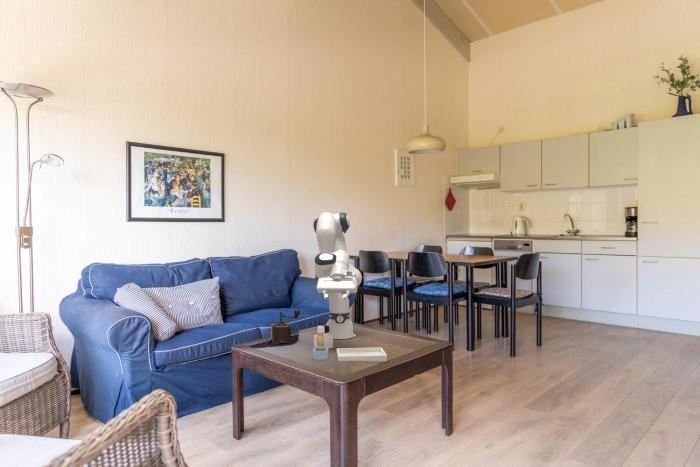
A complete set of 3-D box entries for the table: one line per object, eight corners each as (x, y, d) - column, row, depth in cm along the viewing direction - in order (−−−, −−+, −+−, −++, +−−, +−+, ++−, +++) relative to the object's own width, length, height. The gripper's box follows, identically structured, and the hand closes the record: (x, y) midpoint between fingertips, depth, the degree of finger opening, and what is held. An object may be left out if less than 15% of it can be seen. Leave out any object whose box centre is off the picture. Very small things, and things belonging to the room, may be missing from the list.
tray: (336, 354, 222) (336, 348, 222) (381, 353, 224) (381, 347, 224) (338, 363, 206) (338, 356, 206) (387, 362, 208) (387, 355, 208)
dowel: (316, 357, 213) (316, 331, 213) (323, 357, 213) (323, 331, 213) (317, 359, 210) (317, 332, 210) (324, 358, 210) (324, 332, 210)
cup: (312, 358, 214) (312, 347, 214) (327, 358, 215) (327, 347, 215) (313, 362, 208) (313, 351, 208) (328, 362, 208) (328, 350, 208)
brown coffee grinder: (271, 345, 242) (271, 310, 243) (270, 340, 253) (270, 307, 253) (301, 343, 246) (301, 309, 246) (298, 339, 257) (298, 306, 257)
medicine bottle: (324, 347, 237) (324, 323, 238) (333, 349, 232) (333, 325, 232) (313, 349, 232) (313, 325, 233) (322, 351, 227) (322, 327, 227)
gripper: (317, 272, 231) (313, 294, 221) (357, 272, 228) (355, 294, 218) (319, 280, 235) (315, 302, 226) (359, 281, 232) (356, 302, 222)
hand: (335, 298), depth 222 cm, fingers open, 8 cm apart
